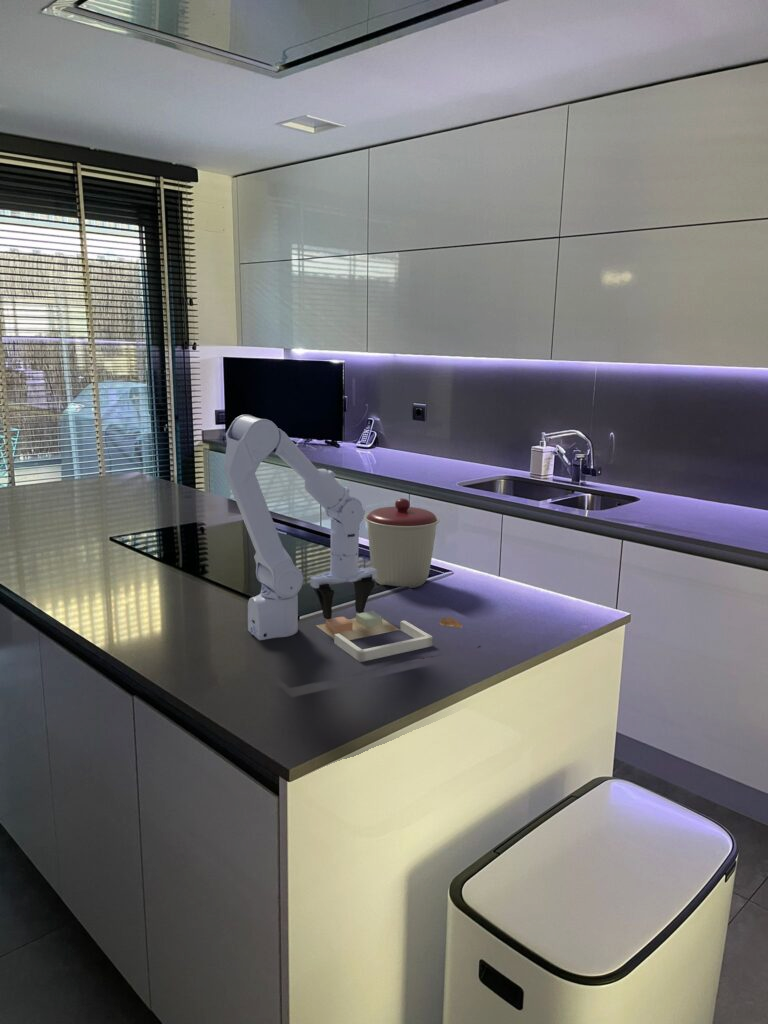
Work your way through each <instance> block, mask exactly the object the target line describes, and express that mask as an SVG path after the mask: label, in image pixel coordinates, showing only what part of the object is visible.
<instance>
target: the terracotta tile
mask: <svg viewBox="0 0 768 1024" xmlns="http://www.w3.org/2000/svg"><path fill="white" fill-rule="evenodd" d="M348 619H349V618H346V617H345V616H344V615H343V616H338V617H331V619H325V624H326V627H327V628H328V629H330V630H331V631H333V632H334V633H338V632H343V631H348V630H352V629H353V623H352V622H351V621H349V620H348Z"/></svg>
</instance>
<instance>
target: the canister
mask: <svg viewBox="0 0 768 1024" xmlns="http://www.w3.org/2000/svg"><path fill="white" fill-rule="evenodd" d="M394 505H395V506H384V507H379V508H376V509H373V510H371V511H370V512H369V513H366V514H365V515H364V518H363V519H364V520H365V522H367V523H366V524H367V537H368V538H367V539H368V547H369V557H370V559H369V560H370V565H371V567H370V568H374V569H376V570H377V578H376V579H374V582H375V583H377V584H378V585H381V586H392V587H407V588H410V589H413V588H419V587H420V586H422V585H424V583H426V581H427V579H428V577H429V575H430V570H431V564H432V559H433V551H434V545H435V540H436V539H435V538H436V532H437V531H436V530H437V525H438V524H439V523H440V522H441V521H440V517H439V516H438V515H436V514H434V512H432V511H430V510H427V509H425V508H420V507H413V506H411V503H410V501H409V500H408V499H406V498H398V499H397V500H395V503H394Z"/></svg>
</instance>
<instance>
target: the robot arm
mask: <svg viewBox="0 0 768 1024" xmlns="http://www.w3.org/2000/svg"><path fill="white" fill-rule="evenodd" d="M228 427H229V428H228V429H227V430H226V432H225V439H226V448H225V456H224V463H223V471H224V475H225V477H226V479H227V483H228V485H229V487H230V490H231V492H232V495H233V497H234V500H235V502H236V505H237V507H238V510H239V512H240V515H241V518H242V520H243V522H244V525H245V528H246V530H247V532H248V535H249V538H250V540H251V543H252V545H253V547H254V551H255V553H254V556H253V558H254V561H255V567H256V568H255V575H256V579H257V580H258V582H260V583H261V588H260V593H259V594H258V595H256V596H252V597H250V598H249V599H248V602H247V631H248V632H249V633H250V634H251V635H252V636H253V637H255V638H256V639H257V640H258V641H265V640H269V639H275V638H286V637H291V636H293V635H295V634H297V633H298V630H299V627H298V626H299V624H298V622H299V621H298V620H299V619H298V618H299V617H298V616H299V614H298V613H299V610H298V609H299V608H298V607H299V605H298V603H299V601H298V597H299V596H298V593H299V591H300V590H301V589H302V587H303V585H304V575H303V572H302V571H301V570H300V568H298V567H297V566H296V565H295V564H294V562H293V559H292V557H291V556H290V555H289V553H288V552H287V550H286V549H285V548H284V546H283V544H282V540H281V538H280V535H279V533H278V530H277V528H276V525H275V523H274V520H273V517H272V515H271V512H270V509H269V507H268V505H267V504H268V503H267V502H266V499H265V496H264V494H263V491H262V489H261V486H260V483H259V480H258V478H257V475H256V472H257V470H258V469H259V466H260V465H261V463H262V462H263V461H264V460H265V459H266V458H267V457H268V456H269V455H270V454H272V455H275V456H277V457H279V458H280V459H281V460H283V462H285V464H287V465H288V466H289V467H290V468H291V469H292V470H293V471H294V472H295V473H296V474H297V475H298V476H300V477H301V478H302V479H303V480H304V490H305V491H306V492H307V493H308V494H309V495H310V496H311V497H312V498H313V499H314V500H315V501H316V502H317V503H318V504H319V505H320V506H321V507H322V508H323V509H324V512H325V513H326V514H325V515H326V516H327V517H329V518H331V519H330V561H329V562H330V563H329V564H330V571H326V572H323V573H321V574H318V575H313V576H310V581H309V582H310V585H309V586H310V587H312V589H313V590H314V592H315V594H316V595H317V598H318V600H319V604H320V607H321V610H322V615H323V618H324V619H325V620H326V619H332V618H333V615H332V614H333V613H332V612H333V607H332V606H333V599H334V594H335V590H334V589H331V588H332V587H331V585H336V584H337V585H338V584H343V583H353V586H354V593H355V602H354V604H355V606H354V607H355V612H357V614H359V613H364V612H365V608H366V605H367V602H368V599H369V596H370V595H371V592H372V590H373V589H374V588H375V585H376V581H375V579H376V578H377V570H376V569H374V568H371V567H364V568H363V567H362V568H361V567H360V568H359V550H360V549H359V546H360V545H359V544H360V541H359V540H360V535H359V534H360V524H361V522H362V521H363V519H365V518H364V517H365V515H366V510H364V508H363V504H362V502H361V501H360V499H358V498H356V497H353V496H351V495H350V489H349V488H348V487H347V486H343V485H342V484H341V483H340V482H339V481H338V480H337V479H336V478H335V477H336V476H337V475H336V473H335V472H334V471H333V470H330V469H329V470H327V469H326V468H317V467H316V466H315V465H314V464H313V462H312V461H310V459H309V458H308V457H307V456H306V455H305V454H304V452H303V451H302V450H301V449H300V448H299V447H298V446H297V445H296V443H295V442H294V441H293V440H292V439H291V438H290V437H289V436H288V433H286V432H285V431H283V430H282V429H281V428H278V426H277V425H276V424H275V423H274V422H273V421H272V420H269V419H267V418H259V417H256V416H253V415H252V414H241V415H239V416H237V417H235V418H234V420H233V421H232V422H231V424H230V425H229V426H228Z"/></svg>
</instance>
